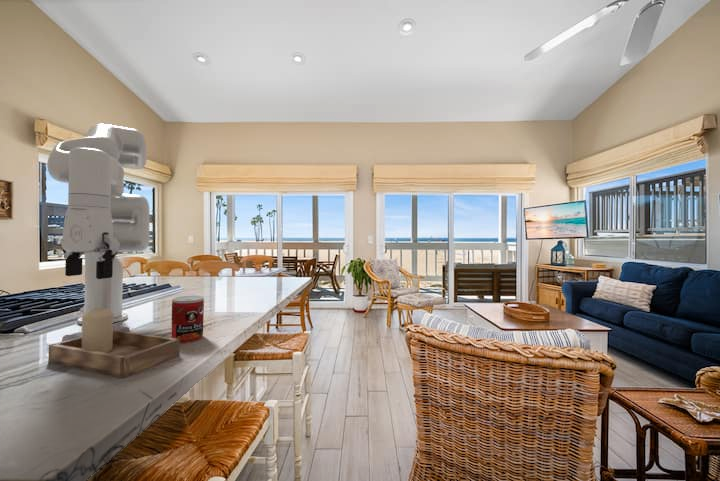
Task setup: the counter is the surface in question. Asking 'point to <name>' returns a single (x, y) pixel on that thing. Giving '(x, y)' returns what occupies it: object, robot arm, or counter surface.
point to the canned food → (187, 318)
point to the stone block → (79, 334)
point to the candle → (97, 330)
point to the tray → (116, 354)
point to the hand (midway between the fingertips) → (88, 276)
